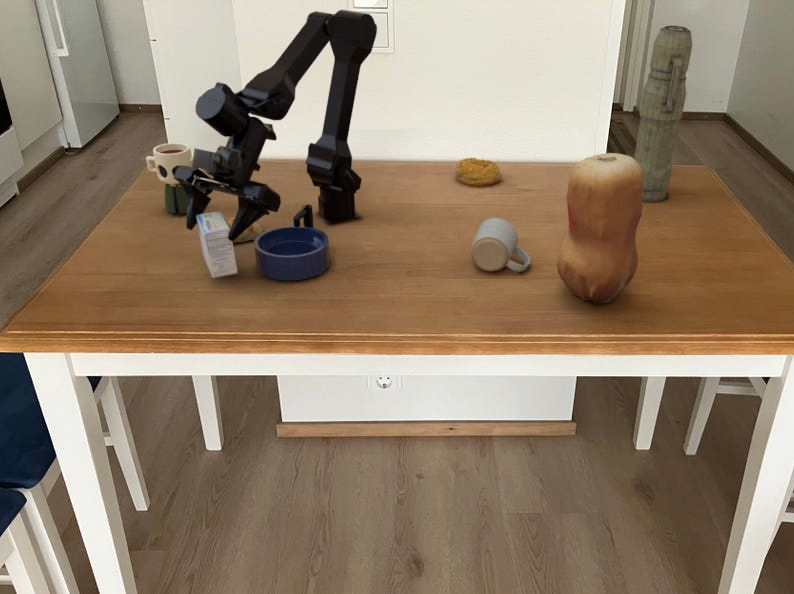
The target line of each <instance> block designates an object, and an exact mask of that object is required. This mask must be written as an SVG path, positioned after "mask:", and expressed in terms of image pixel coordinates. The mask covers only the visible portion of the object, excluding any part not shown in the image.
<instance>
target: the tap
mask: <svg viewBox="0 0 794 594" xmlns="http://www.w3.org/2000/svg"><path fill="white" fill-rule="evenodd" d="M313 213H314V212H313V205H312V204H310V203H309V204H303V205H302V206H301V209H300V210H299V211H298V212H297V213H295V215H293V218H292V221H293V226H294V227H300V226H302V225H301V220H302V221H303V226H306V227H311V228H315V227H314V214H313Z"/></svg>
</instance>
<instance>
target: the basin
mask: <svg viewBox="0 0 794 594" xmlns="http://www.w3.org/2000/svg"><path fill="white" fill-rule="evenodd" d="M253 246H254V247H253V249H254V256H255V264H256V269H257V270H258V272H259V273H260V274H261V275H262V276H265V277H267V278H269V279H274V280H277V281H278V280H279V281H290V282H291V281H301V280H306V279H309V278H314V277H316V276H319V275H321V274H323V273H324V272H325V271H327V270H328V268H329V266H330V264H331V255H330V242H329V237H328V235H327V234H326V233H325V232H324V231H322V230H320V229H318V228H316V227H314V228H311V227H306V226H304V225H301V226H300V227H294V225H288V226H287V225H285V226H279V227H275V228H271V229H268V230H266V231H262V234H260V235H259V236H257V238H256V239H254V240H253Z"/></svg>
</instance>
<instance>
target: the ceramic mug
mask: <svg viewBox="0 0 794 594" xmlns="http://www.w3.org/2000/svg"><path fill="white" fill-rule="evenodd" d="M518 243H519V236H518V232H517V230H516V228H515V226H514V225H512V223H510V222H509V221H507V220H506V219H504V218H499V217H492V218H488V219H486V220H484V221H483V222H482V223H481V224H480V225H479V227H478V230H477V232H476V235H475V238H474V240H473V241H472V244H471V250H470V252H471V253H470V254H471V258H472V261H473V263H474V264H475V265H476V266H477V267H478V268H479V269H481V270H483V271H484V272H485V271H486V272H497V271H501V270H502V269H503V268H505V267H507V269H510V270H512V271H514V272H525V271H526V270H527V269H528V267H529V266H530V264H531V258H530V255H529V254H528V253H527V252H526V251H525V250H524V249H522V248H521V247H520V246H518ZM514 254H515V255H516V256H517V257H519V258H520V259H521V261H523V263H524V264H520V263H517V262H515V261H514V260H511V259H512V256H513V255H514Z"/></svg>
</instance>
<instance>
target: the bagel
mask: <svg viewBox="0 0 794 594" xmlns="http://www.w3.org/2000/svg"><path fill="white" fill-rule="evenodd" d="M453 169H454V175H456V177H457V179H458V181H459V182H461V183H462V184H464V185H466V186H467V185H468V186H473V187H487V186H489V185H492V184H493V183H497V182H500V181H501V180H502V179H503V175H502V173H501V169H500V168H499V166H498V165H497V163H496V162H494V161H491V160H489V159H488V160H486V159H478V158H476V157H466V158H463V159H460V160H459V161H457V162H456V164H455V165H454V168H453Z"/></svg>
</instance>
